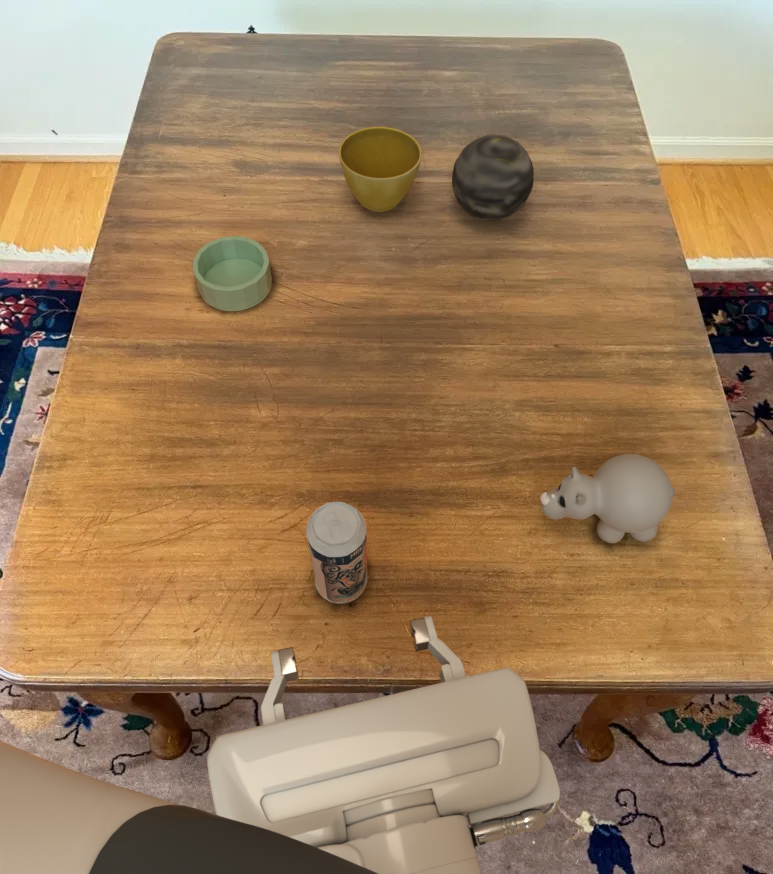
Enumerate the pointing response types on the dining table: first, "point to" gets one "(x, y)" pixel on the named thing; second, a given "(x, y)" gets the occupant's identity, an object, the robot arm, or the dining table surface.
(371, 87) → the dining table surface
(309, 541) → the beer can
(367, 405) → the dining table surface
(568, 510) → the chubby cartoon animal
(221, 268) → the shallow round green bowl
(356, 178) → the flower pot
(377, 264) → the dining table surface
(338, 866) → the robot arm
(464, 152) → the decorative stone
